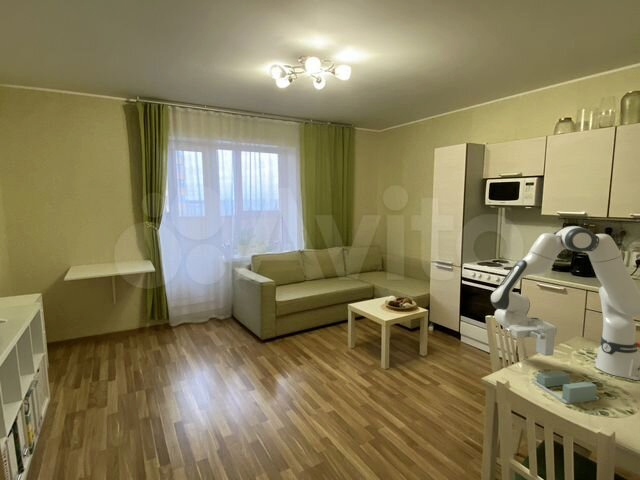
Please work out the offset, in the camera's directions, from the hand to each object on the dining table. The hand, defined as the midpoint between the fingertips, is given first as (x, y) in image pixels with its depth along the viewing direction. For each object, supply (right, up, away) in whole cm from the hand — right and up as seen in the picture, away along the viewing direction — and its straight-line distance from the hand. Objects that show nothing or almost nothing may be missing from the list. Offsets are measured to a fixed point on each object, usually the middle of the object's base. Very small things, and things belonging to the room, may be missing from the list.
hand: (547, 337), depth 147 cm
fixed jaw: (+2, -20, -8) cm, 21 cm away
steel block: (0, -7, +2) cm, 8 cm away
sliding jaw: (+1, -19, -2) cm, 19 cm away
